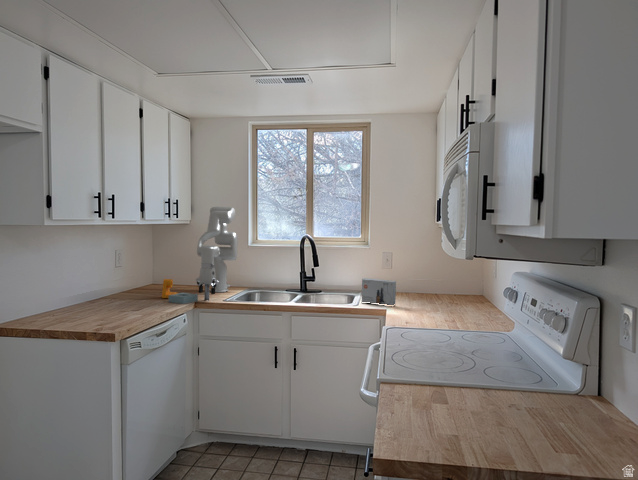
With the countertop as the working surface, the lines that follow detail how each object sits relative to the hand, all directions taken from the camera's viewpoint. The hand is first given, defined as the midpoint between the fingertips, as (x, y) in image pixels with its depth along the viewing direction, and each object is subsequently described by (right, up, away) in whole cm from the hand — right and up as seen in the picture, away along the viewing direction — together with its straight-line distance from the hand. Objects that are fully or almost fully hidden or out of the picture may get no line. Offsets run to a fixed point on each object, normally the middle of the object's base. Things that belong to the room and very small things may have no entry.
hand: (206, 293), depth 267 cm
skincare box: (+108, -8, 0) cm, 108 cm away
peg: (0, -4, 0) cm, 4 cm away
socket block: (-13, -4, -6) cm, 15 cm away
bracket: (-25, -4, +6) cm, 26 cm away
